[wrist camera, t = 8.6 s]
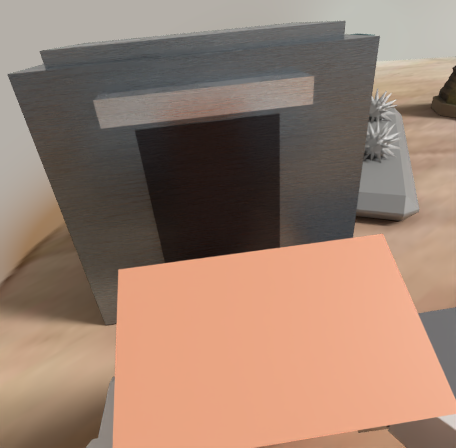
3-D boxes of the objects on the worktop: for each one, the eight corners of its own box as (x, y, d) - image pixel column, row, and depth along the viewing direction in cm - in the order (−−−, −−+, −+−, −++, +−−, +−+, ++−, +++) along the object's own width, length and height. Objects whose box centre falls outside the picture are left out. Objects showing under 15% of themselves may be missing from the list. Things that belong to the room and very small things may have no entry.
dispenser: (355, 302, 19) (400, 17, 12) (101, 342, 18) (-17, 58, 11) (298, 214, 27) (304, 21, 20) (126, 238, 26) (70, 44, 19)
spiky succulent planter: (415, 234, 25) (439, 139, 21) (164, 204, 32) (149, 131, 28) (399, 123, 48) (409, 69, 44) (256, 121, 56) (254, 75, 52)
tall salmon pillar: (316, 420, 13) (461, 412, 5) (192, 440, 13) (111, 471, 5) (298, 343, 15) (382, 233, 6) (187, 360, 15) (118, 269, 6)
